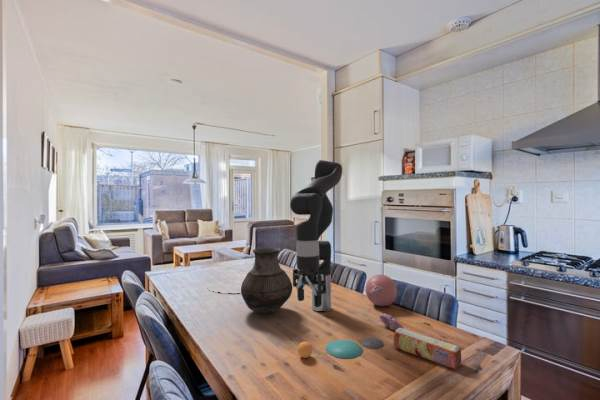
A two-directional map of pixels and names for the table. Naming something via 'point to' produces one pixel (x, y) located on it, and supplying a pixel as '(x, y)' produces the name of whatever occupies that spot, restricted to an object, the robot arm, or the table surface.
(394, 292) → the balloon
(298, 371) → the table surface
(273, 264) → the vase
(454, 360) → the snack package
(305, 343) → the ball
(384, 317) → the video game controller
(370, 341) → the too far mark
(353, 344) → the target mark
